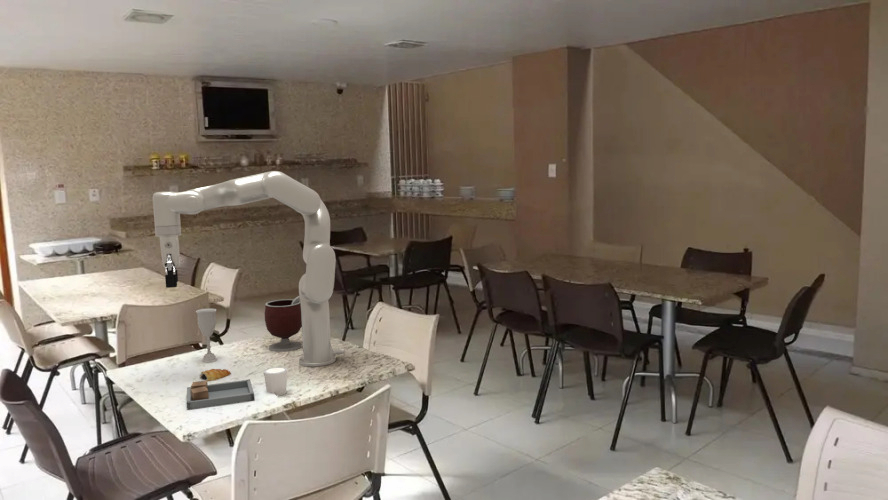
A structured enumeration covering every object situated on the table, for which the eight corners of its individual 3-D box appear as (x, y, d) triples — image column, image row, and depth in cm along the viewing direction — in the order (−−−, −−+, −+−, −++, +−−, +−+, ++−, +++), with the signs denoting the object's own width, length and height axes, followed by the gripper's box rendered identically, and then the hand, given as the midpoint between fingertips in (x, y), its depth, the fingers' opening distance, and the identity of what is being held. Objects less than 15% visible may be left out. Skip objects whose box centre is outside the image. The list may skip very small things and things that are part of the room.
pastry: (224, 374, 215) (223, 363, 215) (235, 378, 211) (235, 367, 210) (197, 381, 208) (197, 370, 208) (208, 386, 204) (208, 374, 203)
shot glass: (282, 397, 192) (281, 374, 191) (260, 396, 193) (259, 373, 192) (292, 389, 198) (291, 367, 197) (271, 388, 200) (270, 366, 199)
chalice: (224, 359, 232) (221, 309, 230) (208, 364, 226) (204, 313, 224) (210, 356, 236) (207, 307, 234) (194, 361, 230) (191, 311, 228)
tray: (250, 388, 200) (250, 379, 199) (254, 403, 187) (254, 393, 186) (187, 397, 193) (186, 387, 193) (187, 413, 180) (186, 402, 180)
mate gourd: (270, 354, 237) (267, 300, 235) (263, 345, 250) (260, 294, 247) (312, 348, 243) (309, 296, 241) (304, 340, 256) (301, 290, 253)
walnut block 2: (206, 399, 188) (205, 386, 187) (209, 403, 185) (208, 390, 184) (191, 402, 186) (190, 389, 185) (194, 406, 182) (193, 393, 182)
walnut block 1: (208, 393, 193) (207, 380, 193) (206, 398, 189) (205, 384, 189) (193, 394, 192) (193, 381, 192) (191, 399, 188) (190, 386, 188)
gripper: (180, 232, 198) (184, 288, 200) (181, 228, 214) (185, 279, 216) (153, 234, 195) (157, 290, 197) (156, 229, 211) (160, 281, 214)
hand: (172, 284), depth 207 cm, fingers open, 9 cm apart
